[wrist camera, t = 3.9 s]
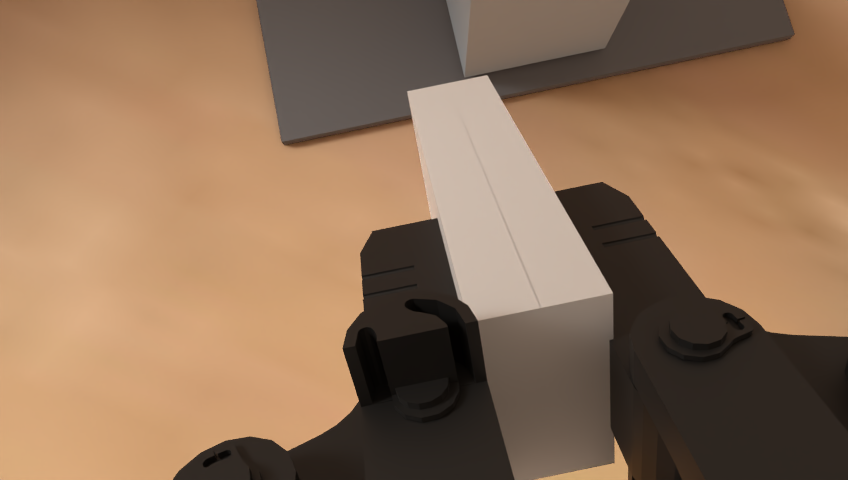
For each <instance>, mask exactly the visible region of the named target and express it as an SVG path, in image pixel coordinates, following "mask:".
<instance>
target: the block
mask: <svg viewBox="0 0 848 480" xmlns="http://www.w3.org/2000/svg"><path fill="white" fill-rule="evenodd" d="M629 1H630V0H446V2H447V6H448V10H449V14H450V18H451V23H452V27H453V31H454V35H455V39H456V44H457V48H458V52H459V56H460V61H461V65H462V69H463V73H464V77H470V76H475V75H479V74H484V73H489V72H494V71H498V70H503V69H508V68H513V67H518V66H522V65H527V64H532V63H537V62H541V61H546V60H551V59H556V58H561V57H565V56H570V55H575V54H580V53H584V52H589V51H594V50H599V49H604V48H605V47H606V45H607V43H608V42H609V40H610V38H611V36H612V34H613V32H614V30H615V28H616V26H617V24H618V22H619V20H620V18H621V16H622V15H623V13H624V11H625V9H626V7H627V5H628V3H629Z"/></svg>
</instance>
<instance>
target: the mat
mask: <svg viewBox="0 0 848 480" xmlns="http://www.w3.org/2000/svg"><path fill="white" fill-rule="evenodd" d="M256 1H257V7H258V12H259V18H260V24H261V29H262V35H263V40H264V46H265V51H266V57H267V63H268V68H269V74H270V79H271V85H272V90H273V96H274V102H275V107H276V113H277V118H278V124H279V129H280V135H281V141H282V143H283V144H284V145H287V144H291V143H296V142H301V141H306V140H310V139H315V138H320V137H325V136H329V135H334V134H339V133H344V132H349V131H353V130H358V129H363V128H368V127H372V126H377V125H382V124H387V123H391V122H396V121H401V120H406V119H410V118H412V114H411V109H410V104H409V99H408V93H407V91H411V90H416V89H421V88H426V87H431V86H436V85H441V84H446V83H451V82H456V81H461V80H466V79H471V78H476V77H480V76H485V75H487V76H488V77H489V79H490V81H491V83H492V84H493V86H494V88H495V90H496V91H497V93H498V95H499V96H500V98H501V99H506V98H511V97H515V96H520V95H525V94H530V93H534V92H539V91H544V90H549V89H553V88H558V87H563V86H568V85H572V84H577V83H582V82H587V81H592V80H596V79H601V78H606V77H611V76H615V75H620V74H625V73H630V72H634V71H639V70H644V69H649V68H653V67H658V66H663V65H668V64H673V63H677V62H682V61H687V60H692V59H696V58H701V57H706V56H711V55H715V54H720V53H725V52H730V51H734V50H739V49H744V48H749V47H754V46H758V45H763V44H768V43H773V42H777V41H782V40H787V39H790V38H791V37H792V36H793V35H795V34H794V31H793V28H792V25H791V22H790V19H789V16H788V13H787V10H786V7H785V4H784V1H783V0H630V1H629V3H628V5H627V7H626V9H625V11H624V13H623V15H622V16H621V18H620V20H619V22H618V24H617V26H616V28H615V30H614V32H613V34H612V36H611V38H610V40H609V42H608V43H607V45H606V47H605V48H604V49H599V50H594V51H589V52H584V53H580V54H575V55H570V56H565V57H561V58H556V59H551V60H546V61H541V62H537V63H532V64H527V65H522V66H518V67H513V68H508V69H503V70H498V71H494V72H489V73H484V74H479V75H475V76H470V77H464V73H463V69H462V65H461V61H460V56H459V52H458V48H457V44H456V39H455V35H454V31H453V27H452V23H451V18H450V14H449V10H448V6H447V2H446V0H256Z"/></svg>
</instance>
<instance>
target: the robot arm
mask: <svg viewBox="0 0 848 480" xmlns="http://www.w3.org/2000/svg"><path fill="white" fill-rule="evenodd" d="M407 93H408V99H409V104H410V109H411V114H412V120H413V125H414V130H415V136H416V141H417V146H418V152H419V157H420V162H421V167H422V173H423V178H424V183H425V189H426V194H427V199H428V205H429V210H430V215H431V219H430V220H425V221H420V222H415V223H410V224H406V225H401V226H396V227H391V228H386V229H381V230H376V231H372V233H371V235H370V237H369V239H368V240H367V242H366V244H365V246H364V248H363V249H362V251H361V253H360V256H361V272H362V279H363V280H362V287H363V297H364V300H363V303H364V312H362V313H361V314H360V315H359V316H358V317H357V318H356V320H355V321H354V322H353V323H352V325H351V326H350V327H349V328H348V330H347V333H346V337H345V341H344V345H343V352H344V355H345V358H346V361H347V364H348V367H349V371H350V374H351V377H352V380H353V383H354V386H355V389H356V393H357V396H358V399H359V402H358V403H357V405H356V406H355V407H354V409H353V410H352V411H351V413H350V414H348V415H347V416H346V417H345V418H344V419H343V420H342V421H341V422H340V423H338V424H337V425H336V426H334V427H333V428H331V429H329V430H328V431H326V432H324V433H323V434H321V435H319V436H317V437H315V438H313V439H311V440H309V441H307V442H305V443H303V444H301V445H299V446H297V447H295V448H293V449H291V450H289V451H286V450H285V449H283V448H282V447H280V446H279V445H278V444H276V443H275V442H274V441H272V440H267V439H261V438H256V437H245V438H239V439H233V440H228V441H224V442H222V443H220V444H218V445H216V446H214V447H212V448H210V449H207V450H205V451H203V452H201V453H200V454H199V455H197V456H196V457H195V458H194V459H193V460H191V461H190V462H189V463H188V464H187V465H185V466H184V467H183V468H182V469H181V470H179V472H178V473H177V474H176V476H175V477H174V479H173V480H534V479H539V478H543V477H548V476H553V475H558V474H563V473H568V472H573V471H577V470H582V469H587V468H592V467H597V466H602V465H606V464H611V463H614V436H615V439H616V441H617V443H618V445H619V447H620V450H621V452H622V454H623V456H624V459H625V461H626V463H627V465H628V480H848V337H836V336H806V335H788V334H779V333H771V332H767V331H765V330H764V329H763V327H762V326H761V325H760V324H759V323H758V322H757V321H755V320H754V319H753V318H752V317H751V316H749V315H748V314H747V313H746V312H745V311H743V310H742V309H739V308H737V307H735V306H732V305H730V304H728V303H725V302H723V301H721V300H716V299H710V298H706V297H705V296H704V295H703V294H702V292H701V291H700V290H699V288H698V287H697V286H696V284H695V283H694V282H693V280H692V279H691V278H690V276H689V275H688V274H687V272H686V271H685V270H684V269H683V267H682V266H681V265H680V263H679V262H678V261H677V259H676V258H675V257H674V255H673V254H672V253H671V251H670V250H669V249H668V247H667V246H666V245H665V244H664V242H663V241H662V240H661V238H660V237H657V236H656V232H655V230H654V229H653V228H652V226H651V225H650V224H649V222H648V221H647V220H644V217H643V215H642V213H641V212H640V211H639V209H638V208H637V207H636V205H635V204H634V203H633V201H632V200H631V199H630V197H629V196H627V195H625V194H624V193H622V192H620V191H618V190H616V189H614V188H612V187H611V186H609V185H607V184H605V183H603V182H600V183H595V184H590V185H585V186H580V187H575V188H570V189H565V190H561V191H556V192H554V190H553V188H552V187H551V185H550V183H549V181H548V180H547V178H546V176H545V174H544V173H543V171H542V169H541V167H540V166H539V164H538V162H537V161H536V159H535V157H534V155H533V154H532V152H531V150H530V148H529V147H528V145H527V143H526V141H525V140H524V138H523V136H522V135H521V133H520V131H519V129H518V128H517V126H516V124H515V122H514V121H513V119H512V117H511V115H510V114H509V112H508V110H507V109H506V107H505V105H504V103H503V102H502V100H501V98H500V96H499V95H498V93H497V91H496V90H495V88H494V86H493V84H492V83H491V81H490V79H489V77H488V76H487V75H485V76H480V77H476V78H471V79H466V80H461V81H456V82H451V83H446V84H441V85H436V86H431V87H426V88H421V89H416V90H411V91H407Z"/></svg>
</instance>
